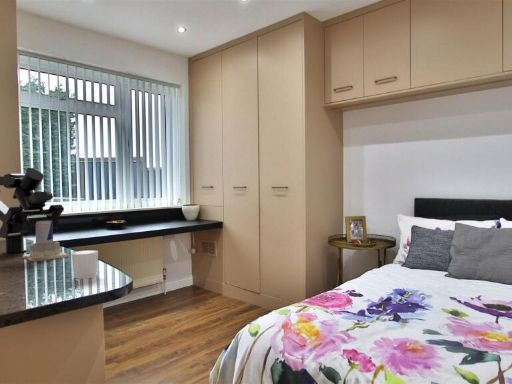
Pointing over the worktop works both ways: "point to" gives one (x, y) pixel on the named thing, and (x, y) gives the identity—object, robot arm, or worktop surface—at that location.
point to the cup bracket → (44, 252)
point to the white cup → (85, 264)
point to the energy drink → (44, 232)
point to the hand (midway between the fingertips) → (45, 230)
